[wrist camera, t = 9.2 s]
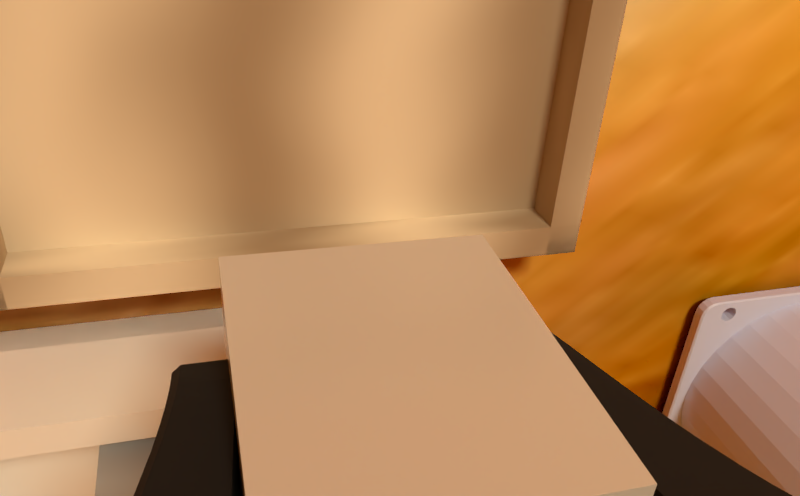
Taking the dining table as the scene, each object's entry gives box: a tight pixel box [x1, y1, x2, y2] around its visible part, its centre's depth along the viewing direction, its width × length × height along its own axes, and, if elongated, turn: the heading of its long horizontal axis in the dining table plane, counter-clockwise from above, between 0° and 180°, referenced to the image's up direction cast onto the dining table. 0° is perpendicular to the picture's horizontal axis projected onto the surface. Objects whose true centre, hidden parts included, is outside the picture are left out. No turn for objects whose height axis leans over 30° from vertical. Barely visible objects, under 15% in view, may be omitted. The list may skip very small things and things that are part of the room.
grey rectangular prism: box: [95, 437, 156, 496], centre depth 18 cm, size 4×4×4 cm
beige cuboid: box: [218, 235, 657, 496], centre depth 9 cm, size 4×4×4 cm
